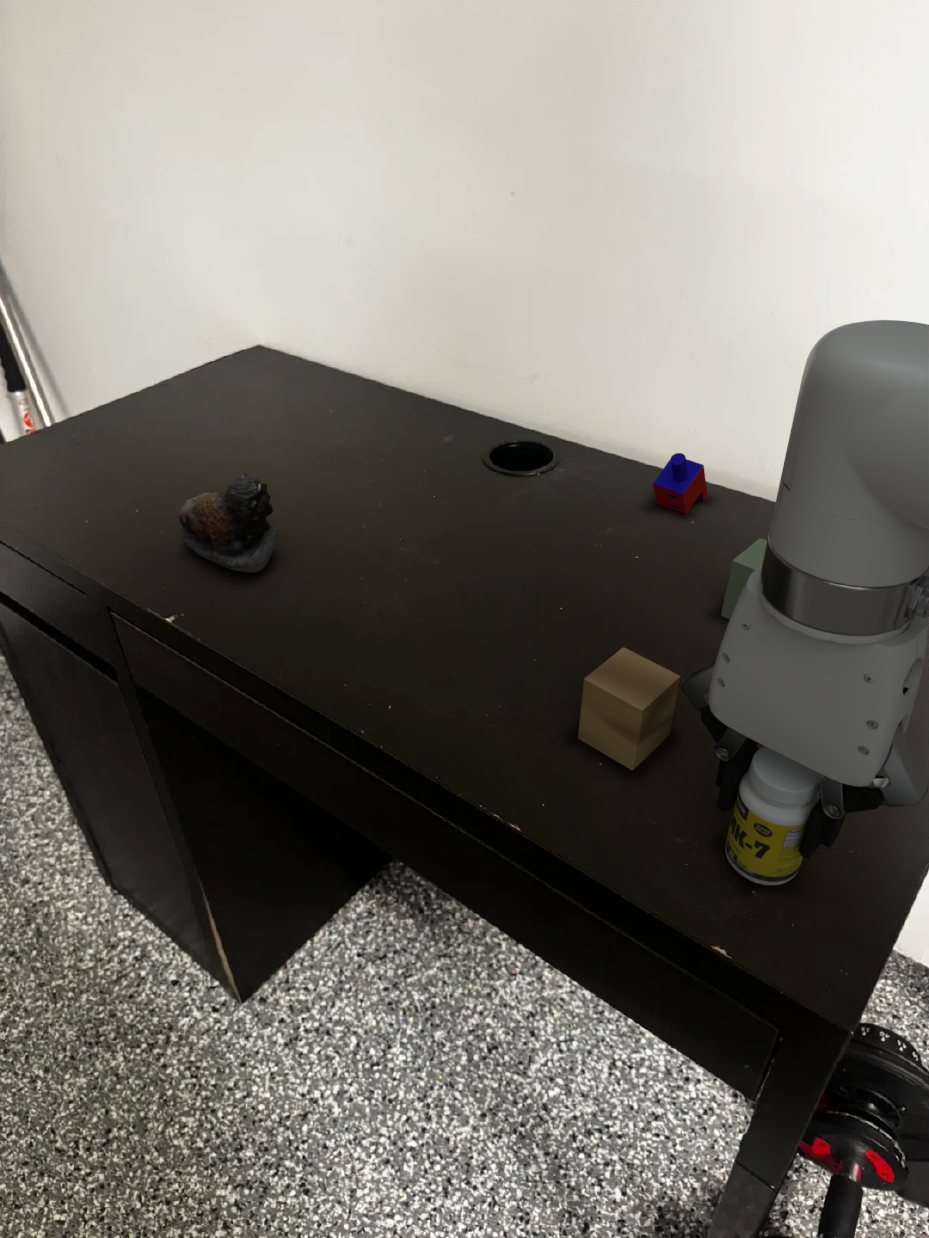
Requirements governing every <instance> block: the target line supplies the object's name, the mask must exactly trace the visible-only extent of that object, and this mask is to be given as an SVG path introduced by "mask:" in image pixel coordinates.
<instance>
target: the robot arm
mask: <svg viewBox="0 0 929 1238" xmlns="http://www.w3.org/2000/svg"><path fill="white" fill-rule="evenodd" d="M773 508H774V509H773V514H772V518H771V522H770V527H769V531H768V536H767V539H766V540H767V545H766V550H765V555H764V559H763V563H761V564H760V565H759V566H758V567H757V568H756V570H755V571H754V572H753V573H752V574H751V575H750V577H749V578H748V580H747V582H746V584H745V586H744V588H743V590H742V592H741V595H740V597H739V599H738V601H737V603H736V606H735V608H734V611H733V613H732V616H731V618H730V620H729V621H728V623H727V625H726V629H725V632H724V634H723V638H722V640H721V643H720V646H719V649H718V653H717V656H716V659H715V661H713V662H711V663H709V664H708V665H706V666H704V667H702V668H701V669H699V670H697V671H694V673H692V674H690V676H689V677H687V678H686V679H685V680H684V681H683V682H682V683H680V684H681V685H680V690H681V691H682V693H683V694H684V695H685V697H686V698H687V699H688V701H689V702H690V703H691V705H692V706H693V707H694V709H695V711H699V713H700V721H701V722H702V723H703V725H704V727H705V728H706V730H707V732H708V733H709V735H710V736H711V738H712V739H713V742H714V743H715V745H714V748H713V752H714V754H715V756H716V757H717V758H718V759H719V764H718V768H717V773H716V778H715V781H714V782H715V783H714V785H715V786H716V787H717V788H719V793H718V796H717V802H716V806H715V807H716V809H718V810H719V811H721V812H723V813H725V812H727V813H729V812H730V811H731V809H732V808H734V805H735V801H736V797H737V792H738V788H739V784H740V781H741V779H742V777H743V776H744V774H745V773H746V772H747V771H748V770H749V767H750V765H751V762H752V759H753V756H754V754H755V753H756V752H757V751H758V750H759V749H760V747H759V746H758V745H759V744H760V745H762V746H763V747H764V746H766V747H768V748H770V749H772V750H774V751H776V752H778V753H780V754H782V755H784V756H786V757H788V758H790V759H792V760H794V761H796V762H798V763H800V764H802V765H804V766H806V767H808V768H810V769H812V770H814V771H816V772H818V773H820V779H821V780H820V795H821V796H820V797H819V801H818V802H817V803H816V804H815V806H814V807H813V808H812V810H811V812H810V814H809V817H808V820H807V824H806V827H805V830H804V833H803V837H802V840H801V843H800V846H799V850H798V852H800V855H801V856H803V859H806V860H808V861H809V860H811V858H812V856H813V855H815V854H814V853H815V852H816V851H817V850H818V848H819V847H820V846H821V845H823V846H825V847H826V848H828V849H829V848H832V846H833V844H834V843H835V842H836V840H837V839H838V837H839V835H840V832H841V830H842V828H843V824H844V822H845V819H846V815H847V814H852V813H860V812H865V811H874V810H877V809H879V808H880V807H885V806H887V807H888V808H895V807H896V808H898V807H917V806H919V805H920V804H921V802H922V801H923V799H924V798H925V796H926V794H927V793H928V791H929V785H928V784H927V781H926V779H925V777H924V775H923V773H922V771H921V769H920V766H919V764H918V762H917V760H916V758H915V756H914V753H913V751H912V750H911V748H910V746H909V743H908V741H907V738H906V737H905V735H906V734H907V733H906V732H907V730H908V728H909V724H910V722H911V717H912V715H913V711H914V708H915V707H914V706H915V704H916V703H915V702H916V699H917V695H918V692H919V688H920V683H921V680H922V675H923V669H924V666H925V659H926V653H927V646H928V637H929V324H927V323H922V322H916V321H909V320H908V321H907V320H897V319H896V320H895V319H875V320H874V319H873V320H864V321H863V320H862V321H856V322H851V323H846V324H842V325H840V326H838V327H836V328H833V329H831V330H829V331H828V332H826V333H825V334H823V335H822V337H820V339H818V340H817V342H816V343H815V344H814V345H813V347H812V348H811V350H810V351H809V354H808V356H807V358H806V361H805V365H804V368H803V373H802V376H801V380H800V385H799V389H798V395H797V400H796V404H795V409H794V413H793V418H792V423H791V427H790V433H789V437H788V442H787V446H786V451H785V457H784V461H783V465H782V471H781V475H780V480H779V485H778V489H777V493H776V499H775V504H774V507H773ZM881 769H883V771H884V774H885V775H886V777H885V776H883V775H879V774H878V773H880V771H881Z"/></svg>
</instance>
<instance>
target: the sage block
mask: <svg viewBox="0 0 929 1238" xmlns="http://www.w3.org/2000/svg"><path fill="white" fill-rule="evenodd" d="M767 540H768V539H765V538H761V537H760V538H758V539H757V540H755V541H754V542H753V543H752V544H751V545H749V546H748V547H747V548H746V549H744V550H743V551H742V552H740V554H738V555H737V556H736V557H734V558H733V559H732V560H731V566H730V569H729V575H728V580H727V585H726V589H725V594H724V598H723V603H722V608H721V612H720V617H722V618H724V619H727V620H729V621H730V618H731V616H732V613H733V611H734V608H735V606H736V603H737V601H738V599H739V597H740V595H741V592H742V590H743V588H744V586H745V584H746V582H747V580H748V578H749V577H750V575H751V574H752V573H753V572H754V571H755V570H756V568H757V567H758V566H759V565H760V564H761V563H763V559H764V555H765V550H766V545H767Z"/></svg>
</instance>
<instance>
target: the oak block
mask: <svg viewBox="0 0 929 1238" xmlns="http://www.w3.org/2000/svg"><path fill="white" fill-rule="evenodd" d="M680 681H681V675H680V674H678V673H676V672H674V671H671V670H670V669H667V668H665V667H664V666H661V665H660V664H658V663H656V662H654V661H652V660H650V659H649V658H646V657H644V656H643V655H640V654H639V653H636V652H634V651H632V650H630V649H629V648H626V647H625V646H624V647H621V648H620V649H619V650H618V651H616V652H615V653H614V654H613V655H612V656H611V657H609V658H608V659H607V660H606V661H604V662H602V664H600V665H599V666H598V667H597V668H596V669H594V670H593V671H592V672H590V673H589V674H587V676H585V677H584V679H583V687H582V694H581V705H580V712H579V713H580V714H579V722H578V723H579V724H578V731H577V732H578V733H577V739H578V740H580V741H582V743H585V744H586V745H588V746H590V747H591V748H593V749H595V750H596V751H598V752H600V753H601V754H603V755H605V756H607V757H608V758H610V759H611V760H613V761H615V762H616V763H618V764H620V765H622V766H623V767H625V768H626V769H628V770H630V771H634V770H635V769H636V768H637V767H639V765H640V764H641V763H643V761H645V759H647V758H648V757H649V756H650V755H651V754H652V753H653V752H654V751H655V750H656V749H657V748H659V746H660V745H661V744H663V742H664V741H666V739H667V738H668V737H670V734H671V729H672V724H673V718H674V713H675V712H674V711H675V707H676V702H677V697H678V692H679V686H680Z"/></svg>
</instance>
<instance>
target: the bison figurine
mask: <svg viewBox="0 0 929 1238" xmlns="http://www.w3.org/2000/svg"><path fill="white" fill-rule="evenodd" d="M242 474H243V475H242V476H241V477H238V478H236V479H234V480H233V481H232V482H230V484H229V485H227V487H226V491H225V492H224V491H219V490H217V491H214V492H202V493H201V494H199V495H197V496H194V497H192V498H189V499H186V500H185V501H184V503H183V505H182V506H181V508H180V509H179V511H178V514H177V517H178V522H179V524H180V525H181V527H180V528H179V530H178V533H179V535H180V537H181V539H182V540H183V541H184V542H185V544H186V545H187V546H188V547H189V548H190V549H191V550H192V551H194V552H195V553H196V554H197V555H198V556H201V557H202V558H204V559H206V560H208V561H210V562H211V563H212V562H213V563H215V564H216V565H218V566H221V567H223V568H226V569H230V570H232V571H236V572H241V573H248V574H254V573H258V572H259V571H262V570H263V569H264V568H265V567H266V566H267V564H268V563H269V560H270V558H271V556H272V554H273V553H274V551H275V548H276V545H277V539H278V527H277V526H275V525H272V524H270V523H269V521H268V519H267V517H269V516H270V515H272V514H273V512H274V509H273V504H272V503H270V502H271V498H272V496H271V494H270V493H269V491H268V483H266V482H261V480H260V479H259V478H257V477H255V476H248V475H247V473H246V472H243V473H242Z"/></svg>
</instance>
